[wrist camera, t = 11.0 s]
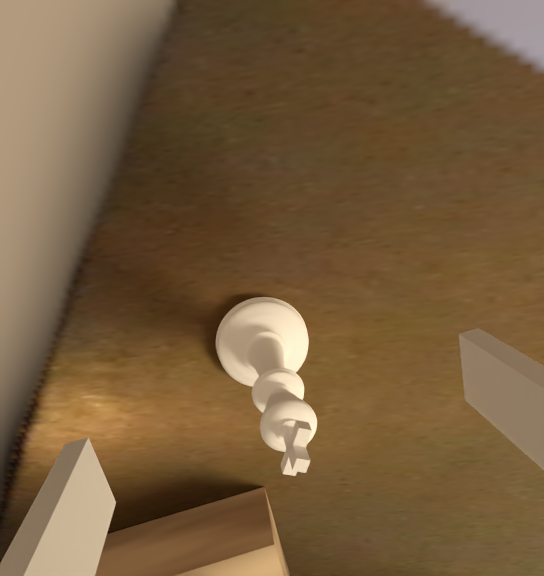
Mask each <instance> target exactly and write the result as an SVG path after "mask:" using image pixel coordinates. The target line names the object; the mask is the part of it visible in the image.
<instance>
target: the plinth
mask: <svg viewBox="0 0 544 576" xmlns="http://www.w3.org/2000/svg"><path fill="white" fill-rule="evenodd" d="M95 576H290V574H289V571H288V567H287V564H286V560H285V557H284V553H283V550H282V546H281V543H280V539H279V536H278V532H277V529H276V525H275V522H274V518H273V515H272V511H271V508H270V504H269V501H268V497H267V494H266V490H265V487H262V488H259V489H256V490H252V491H249V492H246V493H242V494H239V495H236V496H232V497H229V498H226V499H222V500H219V501H216V502H212V503H209V504H206V505H202V506H199V507H196V508H192V509H189V510H186V511H182V512H179V513H176V514H172V515H169V516H166V517H162V518H159V519H156V520H152V521H149V522H146V523H142V524H139V525H136V526H132V527H129V528H126V529H122V530H119V531H116V532H112V533H109V534H107V536H106V539H105V543H104V546H103V549H102V553H101V556H100V560H99V563H98V567H97V570H96V574H95Z"/></svg>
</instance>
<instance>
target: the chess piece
mask: <svg viewBox="0 0 544 576" xmlns="http://www.w3.org/2000/svg"><path fill="white" fill-rule="evenodd" d="M216 350H217V354H218V357H219V359H220V362H221V364H222V366H223V368H224V369H225V371H226V372H227V373H228V374H229V375H230V376H231V377H232V378H234V379H235V380H236V381H238V382H240V383H242V384H245V385H248V386H252V387H253V388H252V399H253V402H254V404H255V406H256V407H257V408H258V409H259V410H260V411H261V412H262V413H263V414H262V418H261V422H260V432H261V436H262V438H263V440H264V441H265V443H266V444H267V445H268V446H270V447H271V448H273V449H275V450H278V451H283V452H285V454H284V456H283V459H282V462H281V468H282V473H283V474H287V475H293V476H296V473H297V471H298V472H304V473H306V471H307V468H308V466H309V463H310V458H309V455H308V452H307V450H306V446H307V443H309V441H310V440H311V439H312V438H313V436H314V434H315V432H316V428H317V419H316V415H315V413H314V411H313V409H312V408H311V407H310V406H309V405H308V404H307V403H306V402H304V401H303V396H304V385H303V382H302V380H301V378H300V377H299V376H298V375H297V374H296V372H297V371H298V369H299V368H300V367H301V365H302V364H303V362H304V360H305V358H306V355H307V351H308V333H307V329H306V325H305V323H304V320H303V319H302V317H301V315H300V314H299V313H298V312H297V310H296V309H294V308H293V307H292V306H291V305H289V304H288V303H286V302H284V301H282V300H279V299H276V298H271V297H257V298H252V299H248V300H246V301H243V302H241V303H239V304H238V305H236V306H235V307H233V308H232V309H231V310H230V311H229V312H228V313H227V314H226V315H225V317H224V318H223V320H222V321H221V323H220V325H219V328H218V331H217V335H216Z"/></svg>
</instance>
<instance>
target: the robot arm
mask: <svg viewBox="0 0 544 576" xmlns="http://www.w3.org/2000/svg"><path fill="white" fill-rule="evenodd" d="M459 342H460V353H461V363H462V373H463V384H464V394H465V401H467V402H468V403H469V404H470V405H471V406H472V407H473V408H474V409H476V410H477V411H478V412H479V413H480V414H481V415H482V416H483V417H485V418H486V419H487V420H488V421H489V422H490V423H491V424H492V425H494V426H495V427H496V428H497V429H498V430H499V431H500V432H501V433H503V434H504V435H505V436H506V437H507V438H508V439H509V440H510V441H512V442H513V443H514V444H515V445H516V446H517V447H518V448H519V449H521V450H522V451H523V452H524V453H525V454H526V455H527V456H528V457H530V458H531V459H532V460H533V461H534V462H535V463H536V464H537V465H539V466H540V467H541V468H542V469H543V470H544V366H543V365H542V364H540V363H538V362H536V361H535V360H533V359H531V358H529V357H528V356H526V355H524V354H523V353H521V352H519V351H517V350H516V349H514V348H512V347H510V346H509V345H507V344H505V343H503V342H502V341H500V340H498V339H496V338H495V337H493V336H491V335H489V334H488V333H486V332H484V331H483V330H481V329H479V328H478V329H475V330H471V331H467V332H464V333H460V334H459ZM115 505H116V501H115V499H114V496H113V494H112V492H111V489H110V487H109V485H108V482H107V480H106V477H105V475H104V473H103V470H102V468H101V466H100V463H99V461H98V459H97V456H96V454H95V452H94V449H93V447H92V445H91V442H90V440H89V438H85V439H81V440H78V441H74V442H70V443H67V444H65V445H64V447H63V449H62V451H61V452H60V454H59V456H58V458H57V460H56V462H55V464H54V465H53V467H52V469H51V471H50V473H49V475H48V476H47V478H46V480H45V482H44V484H43V486H42V488H41V489H40V491H39V493H38V495H37V497H36V499H35V500H34V502H33V504H32V506H31V508H30V510H29V511H28V513H27V515H26V517H25V519H24V521H23V523H22V524H21V526H20V528H19V530H18V532H17V534H16V535H15V537H14V539H13V541H12V543H11V545H10V546H9V548H8V550H7V552H6V554H5V556H4V558H3V559H2V560H0V576H95V574H96V570H97V567H98V563H99V560H100V556H101V553H102V549H103V546H104V543H105V539H106V536H107V532H108V529H109V525H110V522H111V518H112V515H113V512H114V508H115Z"/></svg>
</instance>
